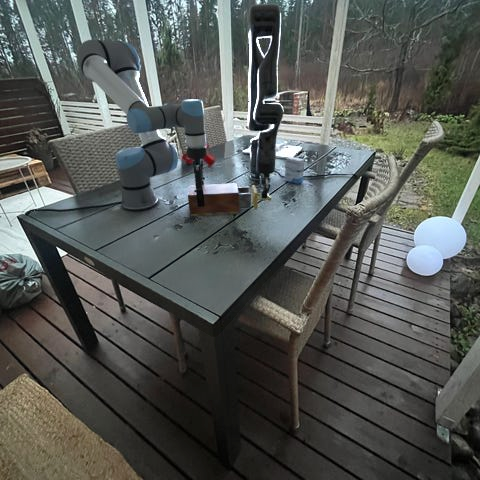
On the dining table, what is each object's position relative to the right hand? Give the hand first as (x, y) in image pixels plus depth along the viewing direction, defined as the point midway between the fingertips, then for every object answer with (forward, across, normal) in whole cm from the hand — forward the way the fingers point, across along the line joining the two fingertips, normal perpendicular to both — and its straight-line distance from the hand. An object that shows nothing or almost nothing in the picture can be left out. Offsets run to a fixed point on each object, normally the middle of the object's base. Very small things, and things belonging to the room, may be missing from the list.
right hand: (263, 200), depth 116 cm
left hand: (-1, 0, -26) cm, 27 cm away
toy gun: (+3, -64, -30) cm, 71 cm away
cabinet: (+3, 0, -21) cm, 21 cm away
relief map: (+3, -89, +22) cm, 91 cm away
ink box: (+3, -29, +21) cm, 36 cm away
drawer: (+2, 0, -10) cm, 10 cm away
